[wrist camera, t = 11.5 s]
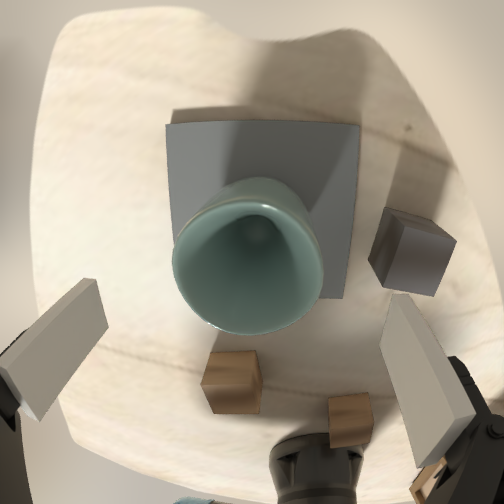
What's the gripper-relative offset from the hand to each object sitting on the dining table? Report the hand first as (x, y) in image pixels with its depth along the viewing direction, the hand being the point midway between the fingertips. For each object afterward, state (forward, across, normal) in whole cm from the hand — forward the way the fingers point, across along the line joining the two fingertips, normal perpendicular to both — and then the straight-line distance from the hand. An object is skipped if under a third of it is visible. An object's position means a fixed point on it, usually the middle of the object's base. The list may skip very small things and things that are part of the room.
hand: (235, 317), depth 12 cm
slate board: (+14, 0, -1) cm, 14 cm away
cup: (+13, 0, -1) cm, 13 cm away
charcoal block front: (+14, -13, +1) cm, 19 cm away
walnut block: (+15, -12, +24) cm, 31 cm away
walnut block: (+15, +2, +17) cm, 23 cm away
